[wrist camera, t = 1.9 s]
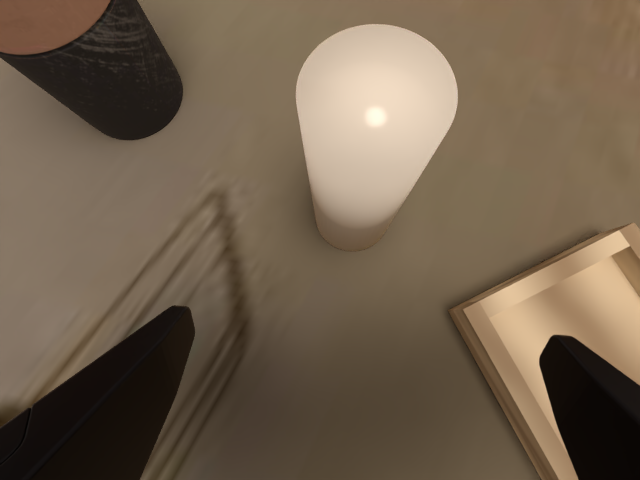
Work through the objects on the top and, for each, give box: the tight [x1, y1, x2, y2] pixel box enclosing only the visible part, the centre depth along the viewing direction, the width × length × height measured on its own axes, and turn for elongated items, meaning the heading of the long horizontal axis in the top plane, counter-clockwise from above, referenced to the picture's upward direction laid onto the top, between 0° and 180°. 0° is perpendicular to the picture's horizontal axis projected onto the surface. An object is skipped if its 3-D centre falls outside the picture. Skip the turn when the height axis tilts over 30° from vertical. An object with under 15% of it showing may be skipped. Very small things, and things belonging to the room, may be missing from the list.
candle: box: [296, 24, 458, 251], centre depth 17 cm, size 5×5×13 cm
